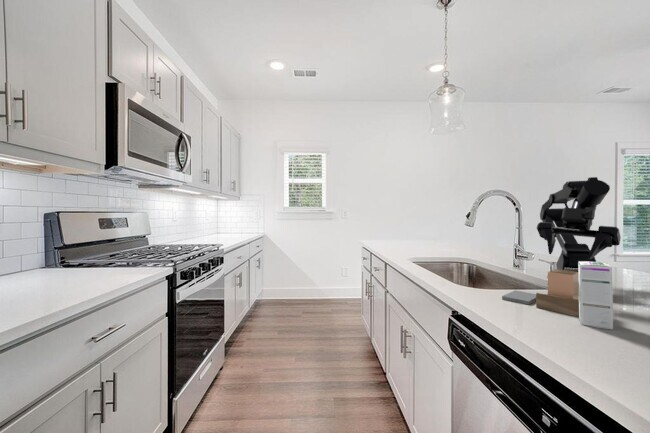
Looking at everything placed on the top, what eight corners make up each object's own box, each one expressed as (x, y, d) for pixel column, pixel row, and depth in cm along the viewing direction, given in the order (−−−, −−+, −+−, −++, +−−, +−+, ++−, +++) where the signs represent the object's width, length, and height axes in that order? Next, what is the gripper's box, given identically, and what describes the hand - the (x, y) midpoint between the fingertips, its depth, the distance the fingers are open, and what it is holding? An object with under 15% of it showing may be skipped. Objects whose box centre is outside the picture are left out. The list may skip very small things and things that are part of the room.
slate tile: (515, 293, 96) (515, 290, 96) (540, 298, 91) (540, 294, 91) (502, 299, 90) (502, 296, 90) (528, 304, 85) (528, 301, 85)
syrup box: (614, 330, 66) (614, 266, 66) (579, 324, 70) (579, 263, 70) (609, 322, 71) (610, 262, 71) (577, 317, 74) (577, 260, 74)
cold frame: (547, 300, 88) (547, 287, 88) (590, 308, 81) (590, 294, 81) (536, 307, 82) (536, 293, 82) (581, 316, 75) (581, 301, 75)
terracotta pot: (554, 303, 85) (554, 268, 85) (578, 308, 81) (578, 271, 81) (547, 307, 82) (547, 271, 82) (573, 313, 78) (573, 274, 77)
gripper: (539, 197, 95) (524, 236, 89) (620, 197, 80) (608, 244, 74) (547, 218, 100) (534, 256, 95) (625, 222, 85) (614, 268, 80)
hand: (568, 256), depth 86 cm, fingers open, 9 cm apart
